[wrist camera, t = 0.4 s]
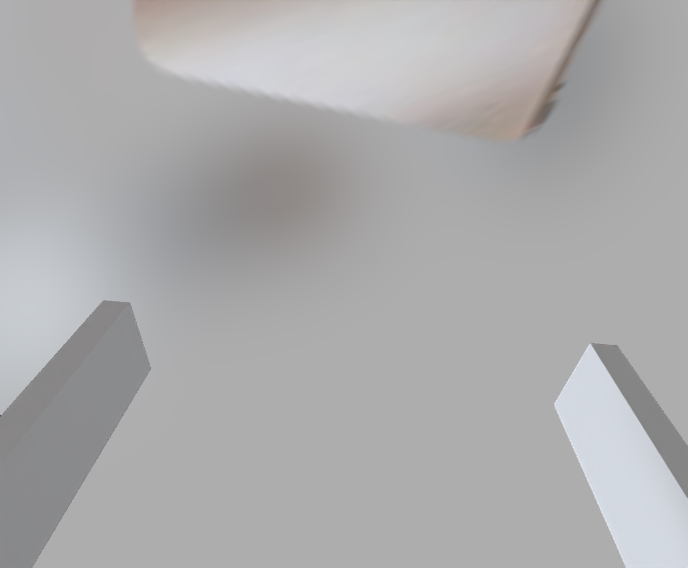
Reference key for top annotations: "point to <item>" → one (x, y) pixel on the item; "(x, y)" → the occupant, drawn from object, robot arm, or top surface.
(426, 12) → the top surface
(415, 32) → the top surface
